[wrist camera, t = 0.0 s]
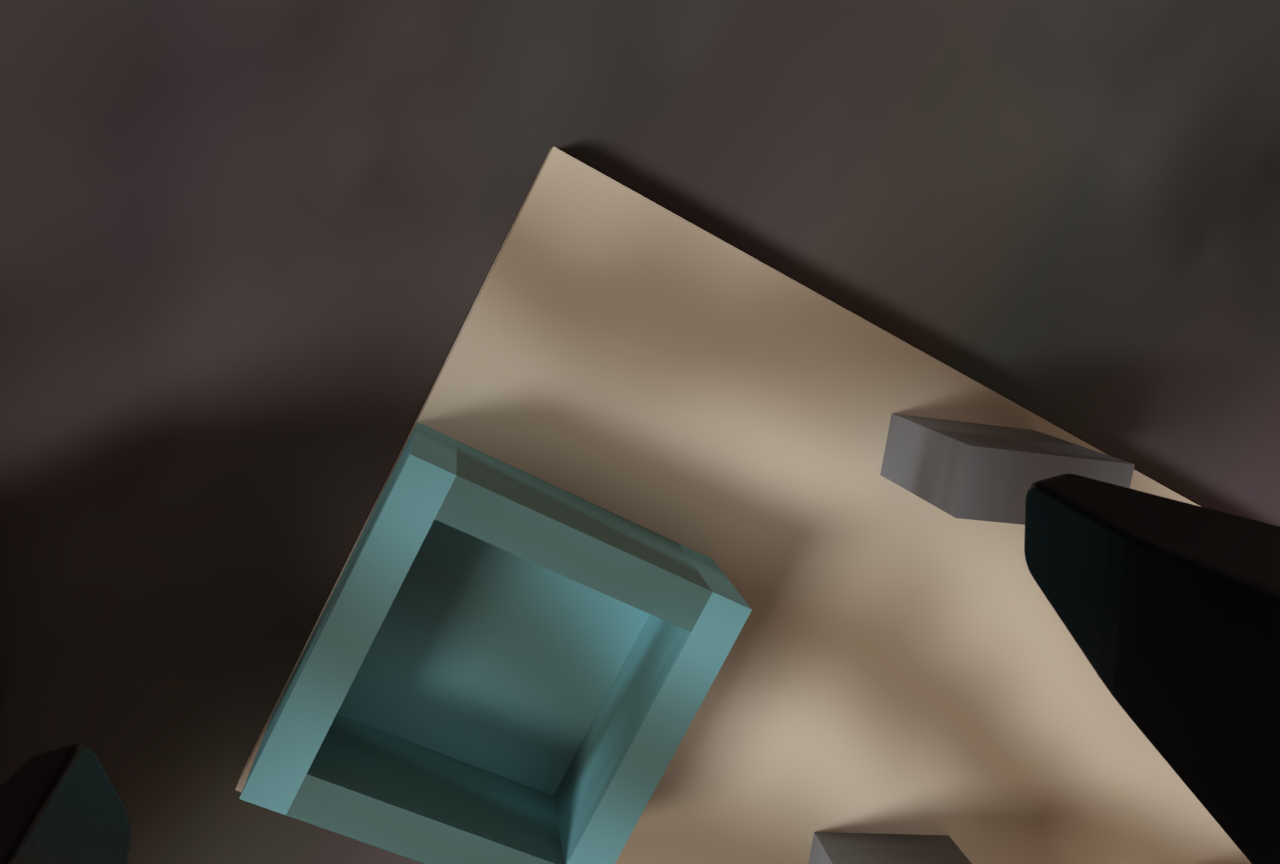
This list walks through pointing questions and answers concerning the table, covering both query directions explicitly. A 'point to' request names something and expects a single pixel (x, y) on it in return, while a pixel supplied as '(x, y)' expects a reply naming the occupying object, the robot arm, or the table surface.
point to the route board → (708, 591)
